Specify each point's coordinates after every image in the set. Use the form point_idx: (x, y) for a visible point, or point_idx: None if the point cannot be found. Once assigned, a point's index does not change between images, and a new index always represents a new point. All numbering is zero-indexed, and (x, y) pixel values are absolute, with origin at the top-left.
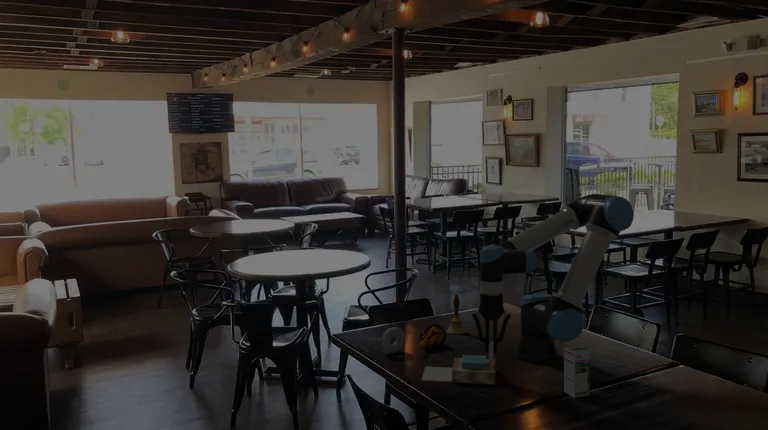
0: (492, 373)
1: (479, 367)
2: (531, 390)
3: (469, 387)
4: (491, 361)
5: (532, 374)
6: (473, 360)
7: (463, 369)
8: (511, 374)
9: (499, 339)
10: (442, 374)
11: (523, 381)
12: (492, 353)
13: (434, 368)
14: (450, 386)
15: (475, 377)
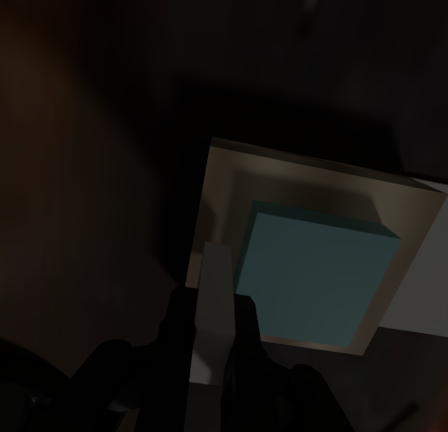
0: (226, 148)
1: (290, 210)
2: (33, 35)
3: (347, 104)
4: (214, 248)
5: (29, 247)
6: (318, 267)
7: (378, 207)
8: (121, 252)
9: (121, 366)
10: (420, 257)
11: (72, 168)
12: (206, 277)
13: (425, 318)
14: (434, 125)
15: (312, 161)
